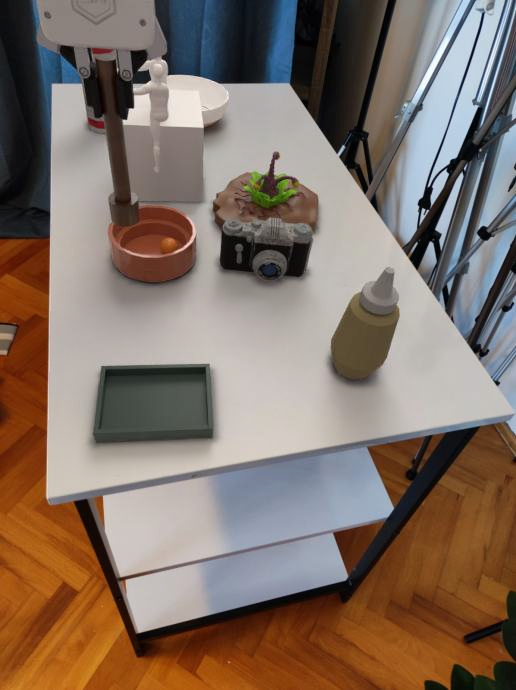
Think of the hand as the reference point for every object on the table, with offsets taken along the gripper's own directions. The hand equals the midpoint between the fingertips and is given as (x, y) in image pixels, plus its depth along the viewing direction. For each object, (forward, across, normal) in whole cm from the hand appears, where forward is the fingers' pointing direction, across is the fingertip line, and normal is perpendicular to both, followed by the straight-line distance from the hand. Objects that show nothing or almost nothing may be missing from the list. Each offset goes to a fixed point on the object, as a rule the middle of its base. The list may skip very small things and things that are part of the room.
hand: (112, 112), depth 53 cm
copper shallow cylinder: (+29, +2, +12) cm, 32 cm away
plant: (+30, +23, +26) cm, 46 cm away
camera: (+30, +20, +8) cm, 37 cm away
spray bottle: (+30, -11, +58) cm, 66 cm away
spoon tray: (+29, +4, -18) cm, 35 cm away
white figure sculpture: (+30, +3, +34) cm, 45 cm away
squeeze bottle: (+30, +32, -12) cm, 45 cm away
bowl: (+30, +7, +63) cm, 70 cm away
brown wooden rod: (+14, 0, 0) cm, 14 cm away
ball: (+27, +5, +12) cm, 30 cm away
